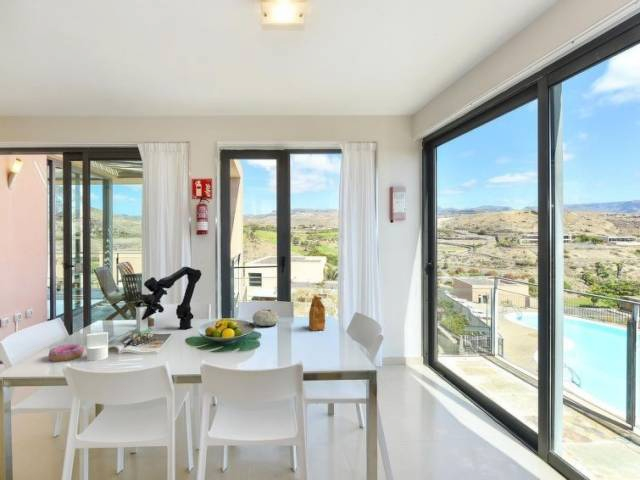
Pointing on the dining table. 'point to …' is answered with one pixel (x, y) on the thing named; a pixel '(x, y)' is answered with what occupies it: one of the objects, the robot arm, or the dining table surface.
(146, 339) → the plate
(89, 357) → the cylinder with rectangular tab
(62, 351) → the donut
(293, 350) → the dining table surface
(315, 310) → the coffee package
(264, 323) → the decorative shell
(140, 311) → the column on green base
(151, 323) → the brown boot
